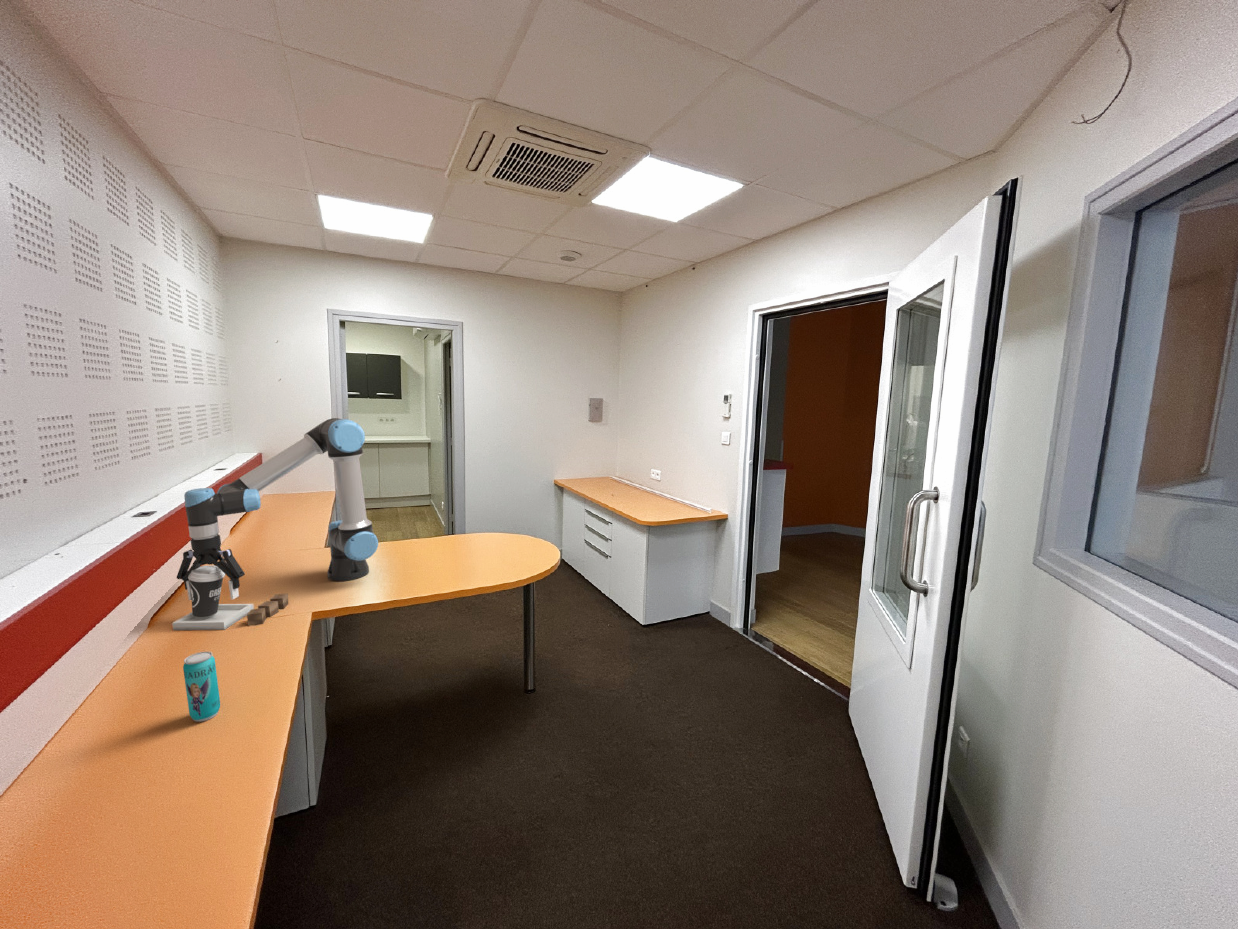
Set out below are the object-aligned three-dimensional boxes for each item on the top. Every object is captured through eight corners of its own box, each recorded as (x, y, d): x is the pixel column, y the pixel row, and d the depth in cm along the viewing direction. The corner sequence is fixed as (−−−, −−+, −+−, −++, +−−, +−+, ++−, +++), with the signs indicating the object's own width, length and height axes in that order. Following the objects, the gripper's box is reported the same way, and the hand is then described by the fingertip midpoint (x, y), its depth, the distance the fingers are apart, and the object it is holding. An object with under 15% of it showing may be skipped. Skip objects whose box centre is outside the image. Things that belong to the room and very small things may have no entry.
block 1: (266, 619, 172) (264, 607, 172) (262, 624, 169) (261, 612, 168) (251, 621, 171) (250, 609, 170) (248, 626, 167) (247, 614, 167)
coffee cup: (203, 622, 166) (205, 578, 164) (178, 615, 167) (180, 571, 165) (230, 610, 175) (232, 568, 173) (206, 603, 177) (209, 562, 174)
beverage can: (186, 726, 118) (178, 665, 116) (195, 712, 124) (187, 653, 121) (217, 720, 121) (209, 660, 118) (224, 706, 126) (217, 648, 123)
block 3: (288, 604, 184) (287, 593, 183) (283, 609, 180) (282, 598, 180) (276, 605, 183) (275, 594, 183) (271, 610, 179) (269, 599, 179)
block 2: (278, 612, 178) (277, 601, 177) (270, 617, 174) (269, 606, 173) (267, 611, 178) (266, 601, 177) (259, 617, 174) (257, 605, 173)
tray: (253, 610, 179) (253, 603, 178) (224, 629, 165) (223, 622, 164) (206, 611, 178) (205, 604, 178) (173, 630, 164) (172, 622, 164)
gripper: (252, 532, 171) (259, 592, 175) (175, 533, 170) (184, 594, 174) (236, 539, 164) (244, 602, 167) (155, 540, 163) (166, 603, 166)
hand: (214, 598), depth 171 cm, fingers open, 13 cm apart
